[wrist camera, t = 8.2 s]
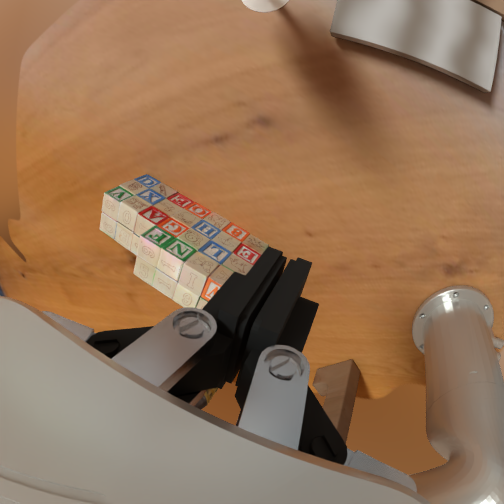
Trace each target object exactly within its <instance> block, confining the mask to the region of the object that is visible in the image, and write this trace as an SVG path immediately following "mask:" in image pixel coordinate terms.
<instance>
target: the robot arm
mask: <svg viewBox="0 0 504 504" xmlns="http://www.w3.org/2000/svg"><path fill="white" fill-rule="evenodd" d="M282 254H283V252H282V251H279V250H276V249H274V248H271V247H267V248H266V250H265V251H264V252H263V254H262V255H261V256H260V258H259V259H258V260H257V261H256V263H255V264H254V265H253V267H252V268H251V269H250V270H249V272H248V273H247V274H246V275H243V274H241V273H238V272H234V273H232V275H231V276H230V277H229V278H228V279H227V280H226V282H225V283H224V284H223V285H222V286H221V287H220V289H219V290H218V291H217V292H216V293H215V294H214V296H213V297H212V298H211V299H210V300H209V301H208V303H207V304H206V305H205V306H204V307H203V309H198V308H193V307H186V308H181V309H178V310H176V311H174V312H173V313H171V314H170V315H169V316H167V317H166V318H165V319H163V320H162V321H161V322H159V323H158V324H157V325H155V326H152V327H142V328H132V329H122V330H110V331H103V332H98V333H94V329H92V328H89V327H87V326H84V325H82V324H79V323H76V322H74V321H71V320H69V319H66V318H64V317H62V316H59V315H57V314H54V313H52V312H48V311H42V312H41V311H39V310H37V309H36V308H34V307H32V306H30V305H28V304H26V303H23V302H21V301H19V300H15V299H12V298H8V297H3V296H0V504H504V381H503V377H502V373H501V369H500V365H499V360H500V357H501V355H500V353H499V352H497V351H495V348H498V349H501V348H502V347H503V345H504V340H502V339H500V338H496V337H494V334H493V331H492V326H493V321H494V313H493V309H492V305H491V303H490V301H489V299H488V298H487V297H486V295H485V294H484V293H482V292H481V291H480V290H478V289H476V288H473V287H469V286H452V287H448V288H445V289H442V290H440V291H438V292H436V293H434V294H433V295H431V296H430V297H429V298H428V299H426V300H425V301H424V302H423V304H422V305H421V306H420V307H419V309H418V310H417V312H416V314H415V316H414V319H413V323H412V336H413V340H414V343H415V345H416V347H417V348H418V350H420V351H421V352H422V353H423V354H424V356H425V375H426V432H427V437H428V440H429V442H430V444H431V445H432V447H433V448H434V449H435V450H436V451H437V452H438V453H439V454H440V455H441V456H442V457H444V458H445V459H446V460H448V462H447V463H446V464H444V465H442V466H439V467H436V468H433V469H430V470H427V471H424V472H420V473H416V474H412V475H407V474H405V473H402V472H400V471H398V470H396V469H394V468H392V467H390V466H388V465H386V464H384V463H382V462H380V461H378V460H376V459H374V458H372V457H370V456H368V455H366V454H364V453H362V452H360V451H358V450H357V451H355V452H353V451H351V450H349V449H347V446H346V444H345V442H344V440H343V438H342V437H341V435H340V434H339V432H338V431H337V429H336V428H335V426H334V425H333V423H332V422H331V420H330V419H329V417H328V415H327V414H326V412H325V411H324V409H323V408H322V406H321V405H320V403H319V402H318V400H317V399H316V397H315V395H314V394H313V392H312V391H311V389H310V388H309V386H308V380H309V373H310V367H309V363H308V361H307V358H306V357H305V356H304V355H303V354H302V351H303V348H304V345H305V343H306V340H307V337H308V334H309V332H310V329H311V326H312V323H313V320H314V317H315V315H316V312H317V309H318V306H319V304H318V303H315V302H313V301H310V300H308V299H305V298H302V297H300V296H301V293H302V290H303V288H304V285H305V282H306V279H307V276H308V274H309V271H310V268H311V265H312V262H309V261H306V260H304V259H301V258H297V260H296V261H295V260H292V259H291V260H290V261H289V263H288V265H287V267H286V268H285V270H284V266H285V263H286V259H287V257H284V256H282ZM283 270H284V272H283ZM239 370H240V371H239ZM238 371H239V374H238V378H237V381H236V386H238V387H237V390H236V394H235V397H236V400H237V402H238V404H239V406H240V408H241V411H240V414H239V417H238V420H237V424H236V426H235V425H233V424H230V423H228V422H226V421H224V420H221V419H219V418H217V417H215V416H213V415H211V414H209V413H207V412H205V411H202V410H200V409H198V408H196V407H194V406H195V405H196V403H197V402H198V401H199V400H200V399H201V398H202V397H203V396H204V394H205V393H206V390H208V389H213V388H217V387H218V388H220V389H222V387H223V385H224V384H225V382H229V383H232V381H233V380H234V378H235V376H236V375H237V373H238Z"/></svg>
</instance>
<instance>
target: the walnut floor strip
mask: <svg viewBox="0 0 504 504" xmlns="http://www.w3.org/2000/svg"><path fill="white" fill-rule="evenodd" d="M470 1H472V2H474V3H477V4H479V5H481V6H483V7H485V8H487V9H488V10H490V11H492V12H494V13H496V14H498V15H500V16H501V17H502V18H501V20H502V21H504V0H470Z"/></svg>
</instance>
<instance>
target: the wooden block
mask: <svg viewBox="0 0 504 504" xmlns="http://www.w3.org/2000/svg"><path fill="white" fill-rule="evenodd" d="M359 375H360V371H359V369H358V367H357V366H356V364H355V363H354V361H353V360H352V359H350V360H347V361H344V362H341V363H337V364H334V365H331V366H327V367H323V368H319V369H317V372H316V375H315V378H314V382H313V386H314V387H315V389H316V390H317V391H318V392H319V394H320V395H321V396H326V399H325V402H324V406H323V409H324V411H325V412H326V414H327V415H328V417H329V419H330V420H331V422H332V423H333V425H334V426H335V428H336V429H337V431H338V432H339V434H340V435H341V437H342V438H343V440H344V442H345V444H346V440H347V435H348V431H349V426H350V421H351V417H352V412H353V407H354V402H355V397H356V392H357V386H358V381H359Z"/></svg>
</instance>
